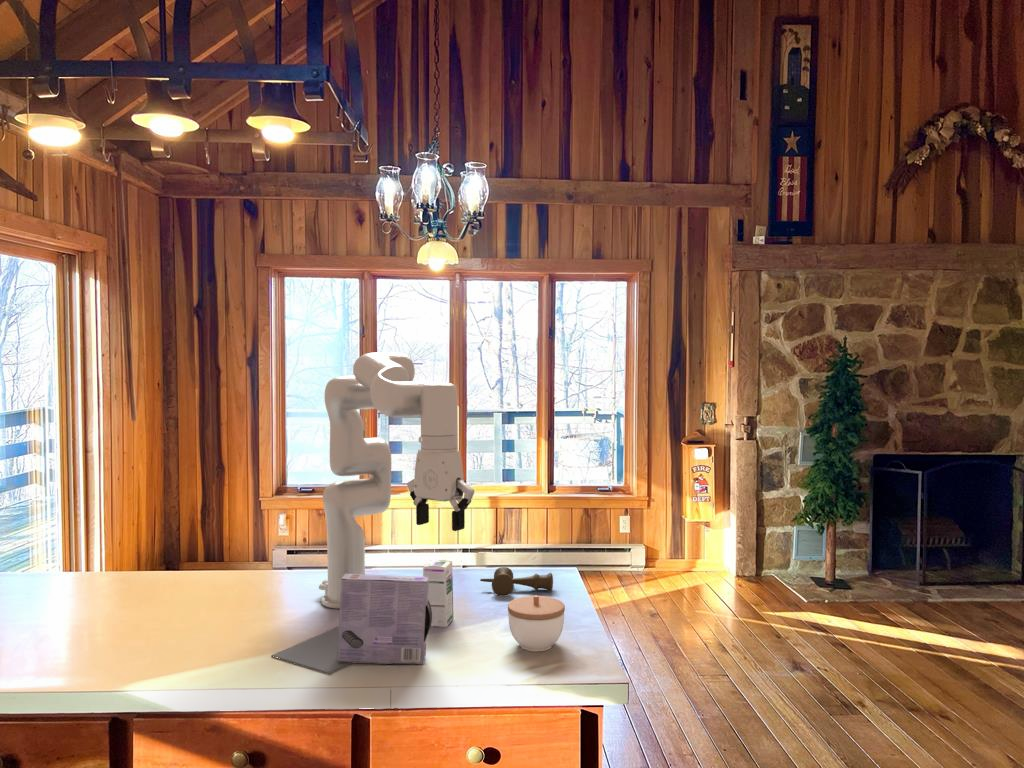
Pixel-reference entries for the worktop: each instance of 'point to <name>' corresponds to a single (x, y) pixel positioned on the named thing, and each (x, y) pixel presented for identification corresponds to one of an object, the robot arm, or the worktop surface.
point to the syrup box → (440, 591)
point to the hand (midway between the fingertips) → (440, 526)
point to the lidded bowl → (536, 621)
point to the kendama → (517, 581)
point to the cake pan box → (383, 619)
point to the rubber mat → (316, 653)
